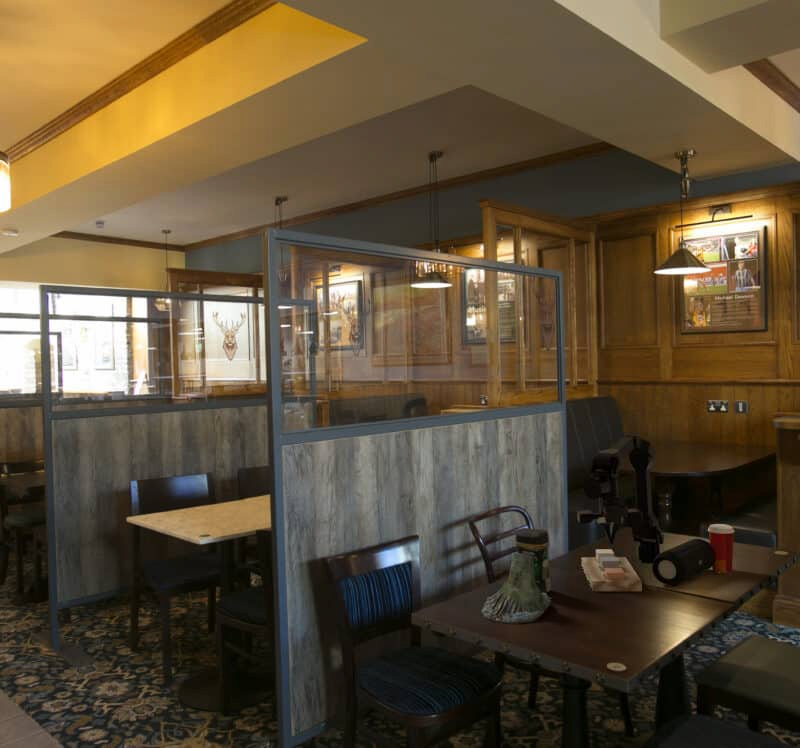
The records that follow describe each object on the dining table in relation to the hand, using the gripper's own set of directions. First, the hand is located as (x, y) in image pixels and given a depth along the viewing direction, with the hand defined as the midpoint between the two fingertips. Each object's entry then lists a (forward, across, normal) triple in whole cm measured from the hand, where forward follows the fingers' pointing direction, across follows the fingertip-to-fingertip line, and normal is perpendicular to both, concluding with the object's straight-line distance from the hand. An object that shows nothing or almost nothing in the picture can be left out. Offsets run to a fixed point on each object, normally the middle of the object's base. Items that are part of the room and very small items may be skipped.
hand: (611, 543), depth 217 cm
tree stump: (+11, -31, -27) cm, 42 cm away
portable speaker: (+12, +22, +2) cm, 25 cm away
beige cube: (+11, 0, +12) cm, 16 cm away
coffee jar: (+11, -25, -10) cm, 29 cm away
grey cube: (+10, 0, +3) cm, 11 cm away
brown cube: (+12, -1, -6) cm, 14 cm away
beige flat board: (+11, 0, +2) cm, 12 cm away
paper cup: (+12, +35, +9) cm, 38 cm away
